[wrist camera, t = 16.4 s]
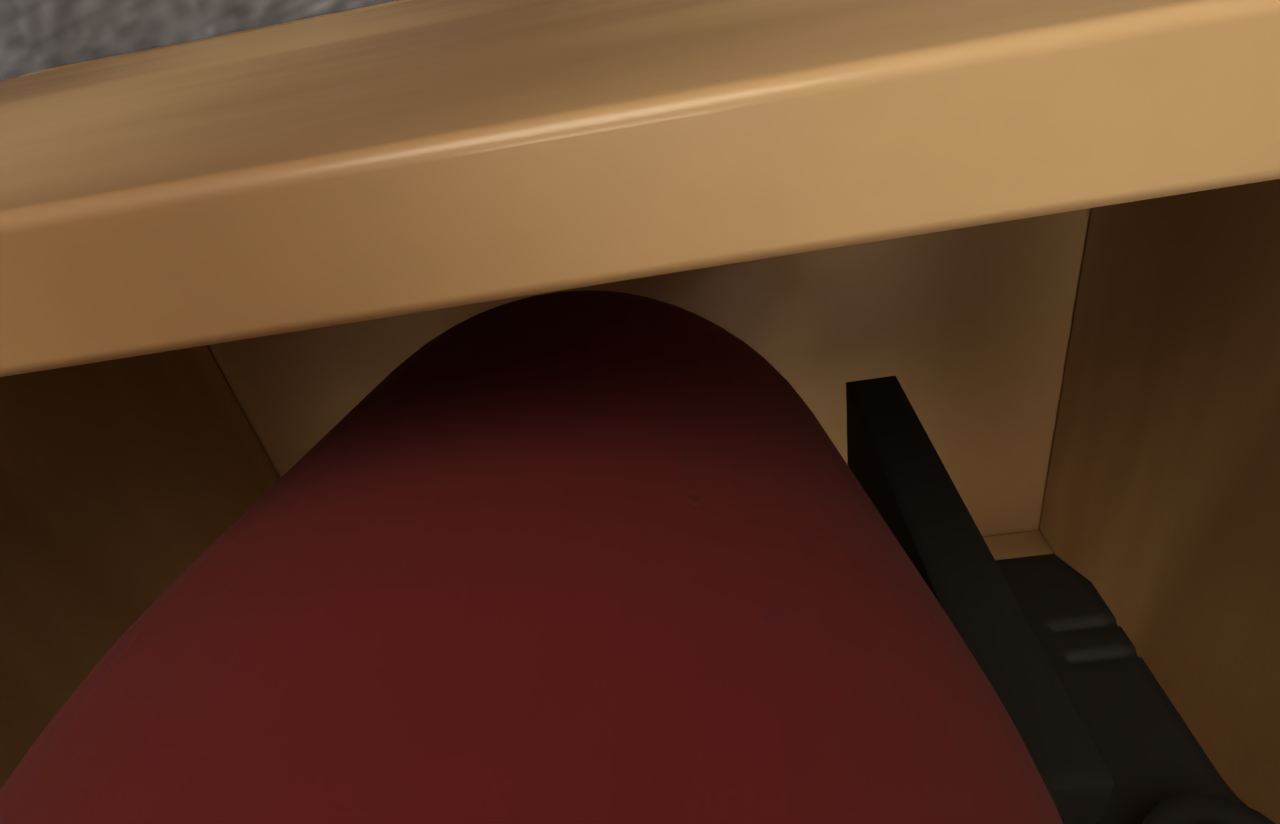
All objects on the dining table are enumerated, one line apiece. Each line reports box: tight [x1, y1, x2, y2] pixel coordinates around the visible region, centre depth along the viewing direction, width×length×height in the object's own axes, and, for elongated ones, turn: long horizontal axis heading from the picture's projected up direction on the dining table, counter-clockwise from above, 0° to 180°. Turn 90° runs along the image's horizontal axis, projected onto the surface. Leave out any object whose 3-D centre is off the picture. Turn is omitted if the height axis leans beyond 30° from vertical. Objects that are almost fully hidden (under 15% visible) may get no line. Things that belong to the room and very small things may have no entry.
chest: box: [0, 0, 1280, 824], centre depth 12 cm, size 20×15×12 cm
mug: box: [0, 290, 1063, 824], centre depth 9 cm, size 11×8×10 cm
